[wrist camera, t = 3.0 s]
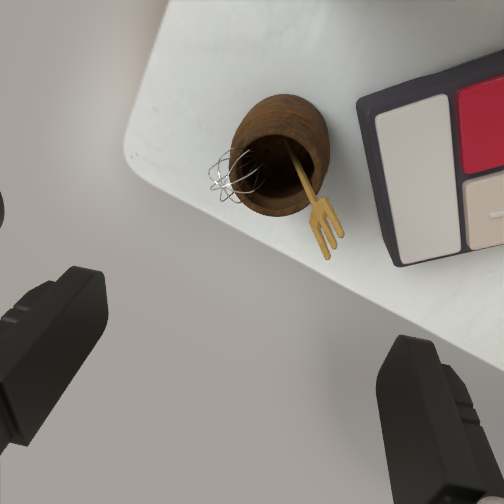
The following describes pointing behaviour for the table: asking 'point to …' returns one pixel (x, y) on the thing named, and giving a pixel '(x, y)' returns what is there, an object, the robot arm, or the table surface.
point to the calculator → (438, 161)
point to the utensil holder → (283, 163)
